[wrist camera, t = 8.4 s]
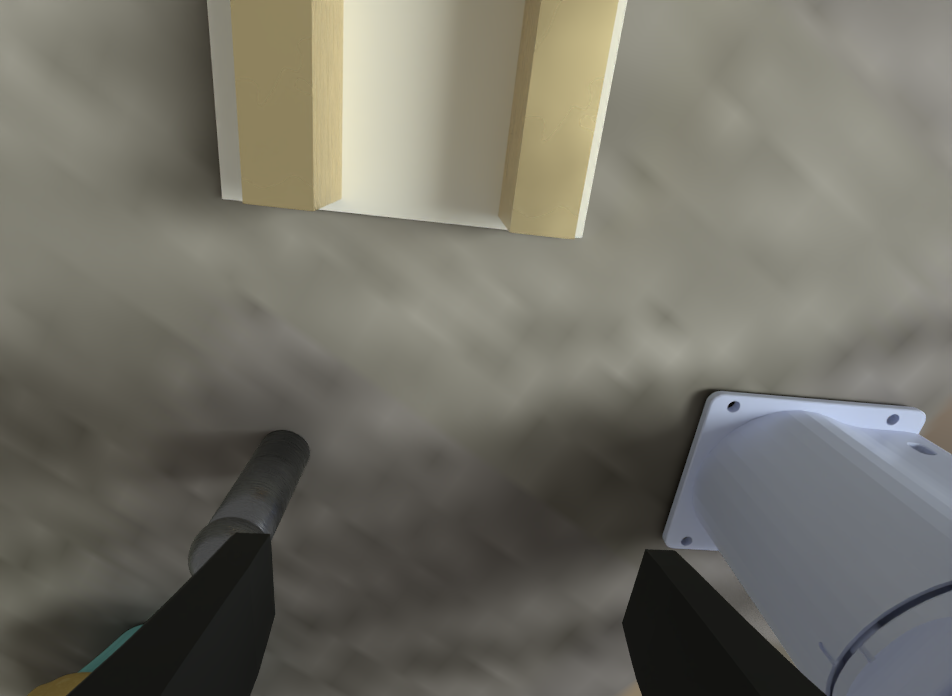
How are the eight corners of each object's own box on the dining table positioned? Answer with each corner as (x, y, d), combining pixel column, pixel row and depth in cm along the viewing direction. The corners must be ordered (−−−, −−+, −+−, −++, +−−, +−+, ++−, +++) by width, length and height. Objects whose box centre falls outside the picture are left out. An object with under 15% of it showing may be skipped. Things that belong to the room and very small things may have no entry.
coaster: (663, -219, 13) (672, -235, 12) (577, 235, 17) (581, 238, 17) (194, -310, 12) (181, -333, 11) (230, 197, 16) (222, 198, 16)
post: (311, 430, 20) (250, 554, 14) (312, 475, 21) (254, 610, 15) (256, 426, 20) (168, 550, 14) (259, 471, 21) (177, 607, 14)
